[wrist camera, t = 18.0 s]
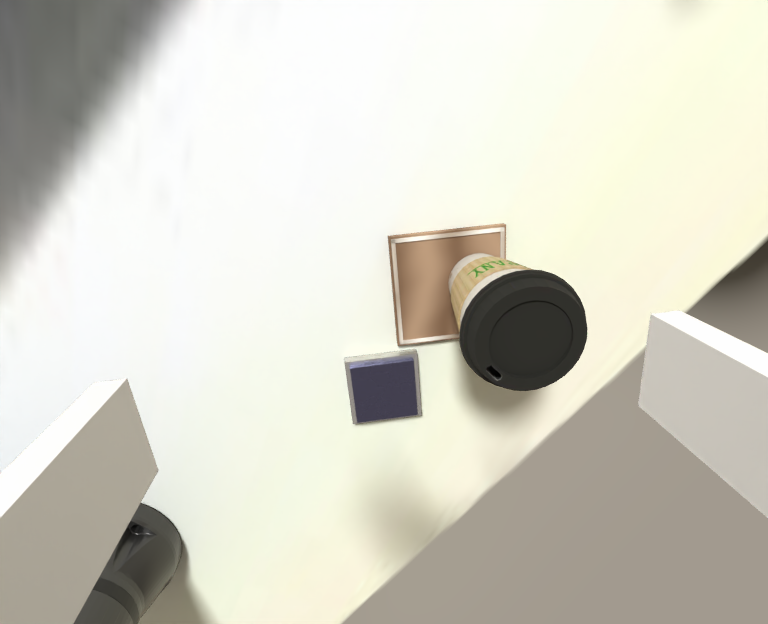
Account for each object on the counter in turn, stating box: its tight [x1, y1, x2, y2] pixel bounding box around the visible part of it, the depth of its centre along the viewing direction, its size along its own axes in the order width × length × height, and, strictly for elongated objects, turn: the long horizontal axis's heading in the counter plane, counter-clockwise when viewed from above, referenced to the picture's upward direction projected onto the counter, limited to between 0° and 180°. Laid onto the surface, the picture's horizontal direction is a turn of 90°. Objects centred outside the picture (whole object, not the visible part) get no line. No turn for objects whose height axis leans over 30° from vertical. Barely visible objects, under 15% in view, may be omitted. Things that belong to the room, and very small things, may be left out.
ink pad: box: [345, 349, 422, 424], centre depth 50 cm, size 8×8×2 cm
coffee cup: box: [448, 253, 587, 391], centre depth 40 cm, size 10×10×15 cm
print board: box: [388, 224, 506, 346], centre depth 47 cm, size 12×12×1 cm
